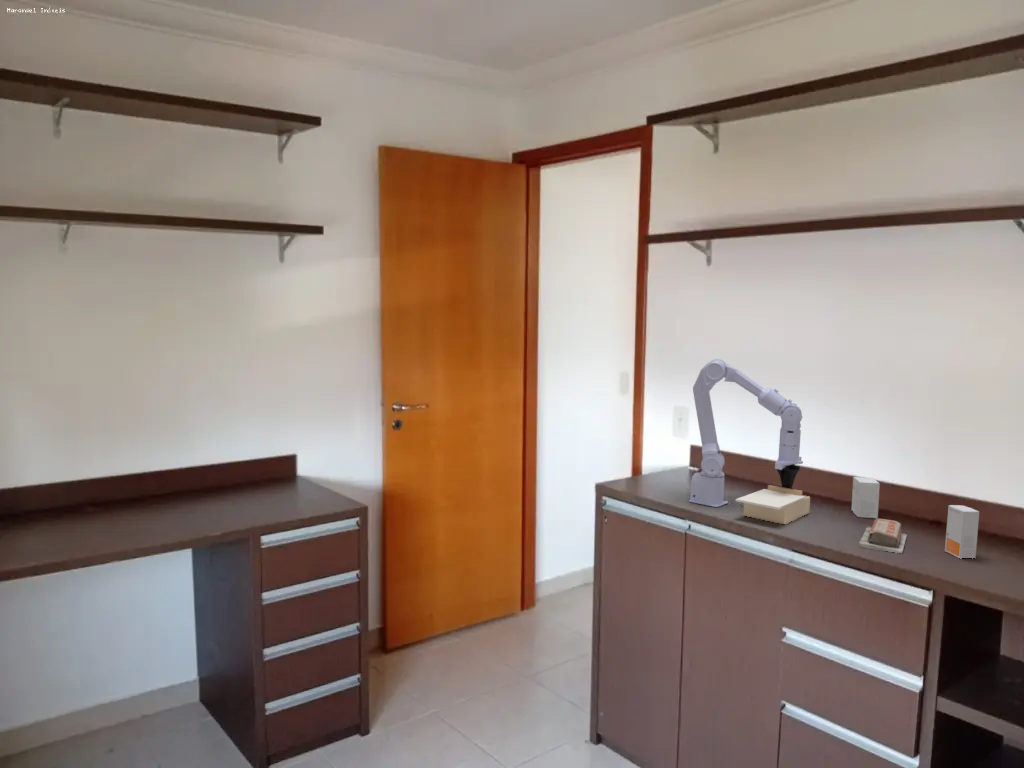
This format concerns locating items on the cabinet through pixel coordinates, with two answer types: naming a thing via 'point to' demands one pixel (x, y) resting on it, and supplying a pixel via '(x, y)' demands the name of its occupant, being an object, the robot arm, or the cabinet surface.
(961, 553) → the skincare box
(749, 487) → the cabinet surface
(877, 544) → the packaged product
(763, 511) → the box
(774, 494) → the lid
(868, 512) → the small box
